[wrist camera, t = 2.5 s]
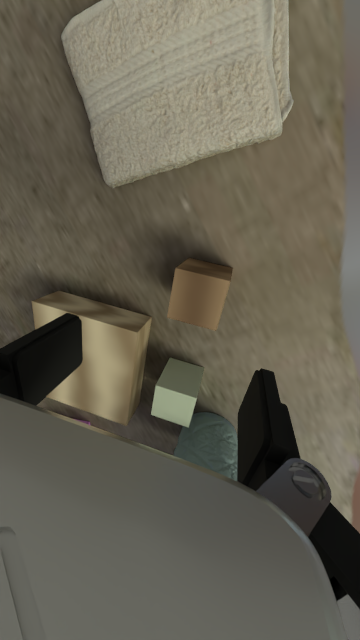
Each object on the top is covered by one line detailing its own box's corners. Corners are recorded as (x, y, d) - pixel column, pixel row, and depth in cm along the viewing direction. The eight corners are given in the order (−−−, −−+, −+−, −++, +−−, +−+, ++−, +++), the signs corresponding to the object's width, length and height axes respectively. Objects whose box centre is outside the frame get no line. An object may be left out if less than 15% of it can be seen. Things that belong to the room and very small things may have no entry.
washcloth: (290, 137, 19) (298, 123, 17) (114, 194, 25) (98, 191, 22) (283, -72, 15) (292, -136, 12) (73, 51, 21) (47, 26, 18)
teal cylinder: (183, 449, 38) (162, 537, 28) (173, 404, 35) (144, 485, 24) (244, 457, 36) (246, 557, 25) (240, 408, 32) (241, 502, 21)
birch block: (152, 315, 30) (137, 332, 25) (140, 401, 37) (126, 426, 32) (60, 289, 32) (31, 301, 27) (66, 375, 39) (43, 395, 34)
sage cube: (204, 367, 31) (196, 398, 25) (196, 394, 33) (188, 427, 28) (170, 357, 31) (155, 385, 26) (164, 384, 34) (150, 414, 28)
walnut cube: (232, 267, 24) (230, 281, 19) (221, 308, 27) (216, 330, 21) (189, 257, 25) (175, 268, 20) (181, 298, 27) (167, 317, 22)
